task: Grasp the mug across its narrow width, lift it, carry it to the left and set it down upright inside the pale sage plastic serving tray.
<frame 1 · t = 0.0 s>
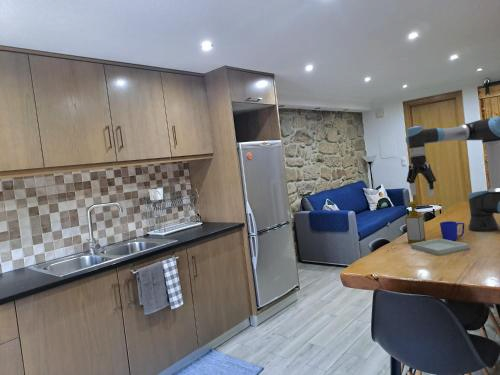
hand: (422, 195, 194), 28 cm above the table, fingers open, 13 cm apart
tray: (439, 248, 188), on the table
mug: (453, 240, 202), on the table
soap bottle: (418, 241, 210), on the table
white cylinder: (455, 226, 205), point 6 cm above the table, tilted 119°
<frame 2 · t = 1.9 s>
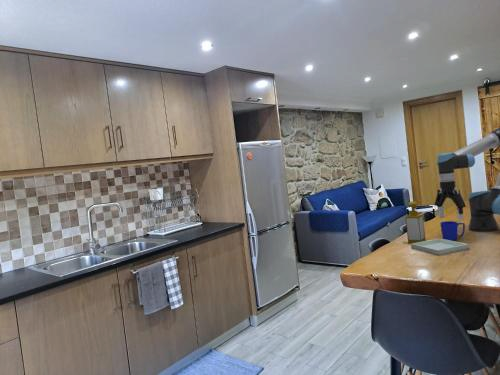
hand: (450, 219, 201), 12 cm above the table, fingers open, 13 cm apart
mug: (453, 240, 202), on the table, touching white cylinder
white cylinder: (455, 227, 205), point 6 cm above the table, tilted 118°, touching mug
everything else where it was.
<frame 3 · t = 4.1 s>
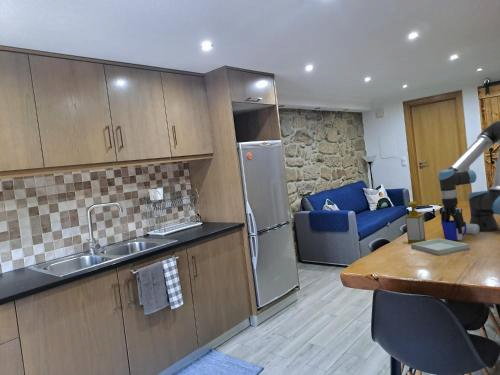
hand: (454, 238, 202), 1 cm above the table, fingers closed on mug, 7 cm apart
mug: (455, 239, 201), on the table, touching gripper
white cylinder: (476, 229, 208), point 3 cm above the table, tilted 90°
everything else where it was.
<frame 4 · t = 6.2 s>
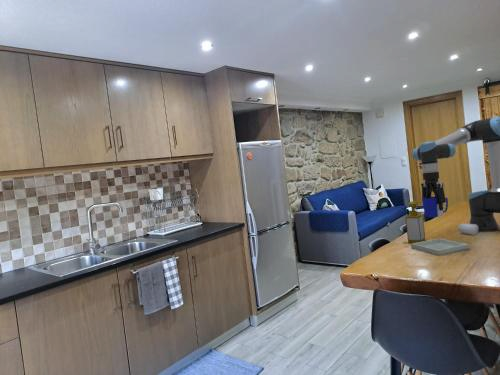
hand: (435, 215, 188), 17 cm above the table, fingers closed on mug, 7 cm apart
mug: (436, 216, 187), point 17 cm above the table, touching gripper
when the fingers open (1 cm above the table, at t = 8.3 s): mug stays where it is, resting on tray.
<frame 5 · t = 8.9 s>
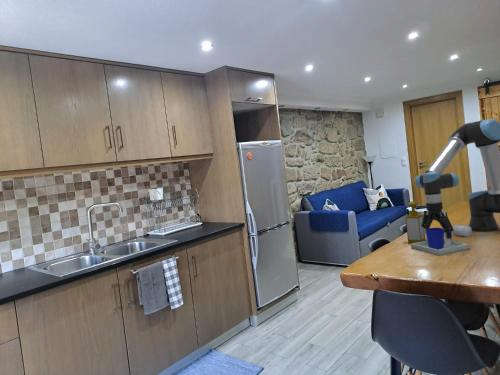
hand: (438, 242, 188), 3 cm above the table, fingers open, 13 cm apart
mug: (440, 248, 188), resting on tray
white cylinder: (468, 231, 206), point 3 cm above the table, tilted 90°
everything else where it was.
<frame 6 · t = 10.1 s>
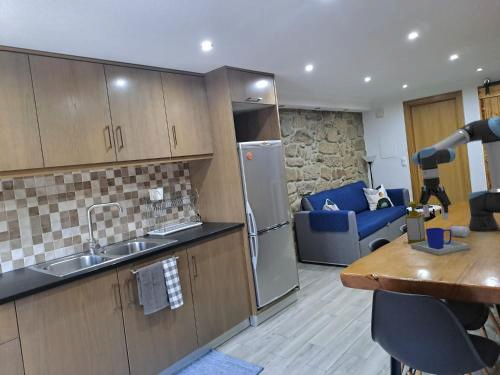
hand: (436, 218, 188), 16 cm above the table, fingers open, 13 cm apart
white cylinder: (466, 232, 205), point 3 cm above the table, tilted 90°
everything else where it was.
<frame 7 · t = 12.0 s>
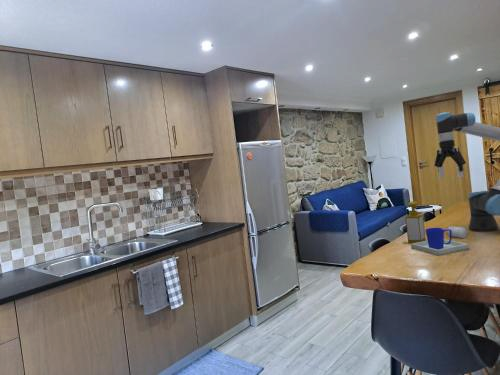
hand: (451, 177, 205), 34 cm above the table, fingers open, 13 cm apart
white cylinder: (463, 232, 204), point 3 cm above the table, tilted 90°
everything else where it was.
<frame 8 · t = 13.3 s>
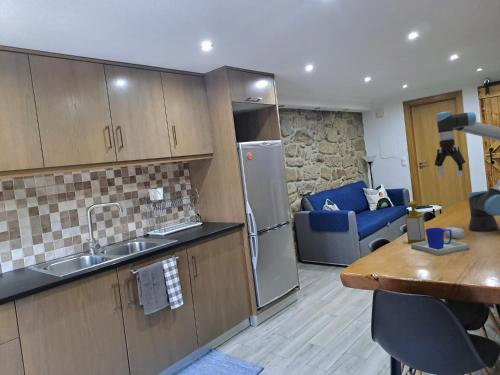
hand: (450, 177, 206), 35 cm above the table, fingers open, 13 cm apart
white cylinder: (460, 233, 203), point 3 cm above the table, tilted 90°
everything else where it was.
at the end: mug inside the target area on the tray (0.8 cm from its centre), point 0.4 cm above the tray's base; mug tilted 0°; mug touching tray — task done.
